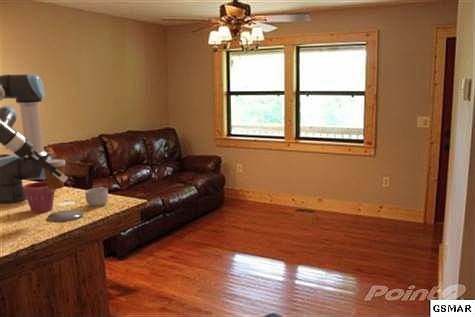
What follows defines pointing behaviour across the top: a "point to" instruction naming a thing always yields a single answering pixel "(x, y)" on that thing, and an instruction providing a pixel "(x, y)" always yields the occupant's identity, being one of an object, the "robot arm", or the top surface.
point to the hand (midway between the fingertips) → (63, 178)
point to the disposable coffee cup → (50, 178)
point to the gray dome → (65, 215)
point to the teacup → (97, 196)
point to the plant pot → (39, 196)
